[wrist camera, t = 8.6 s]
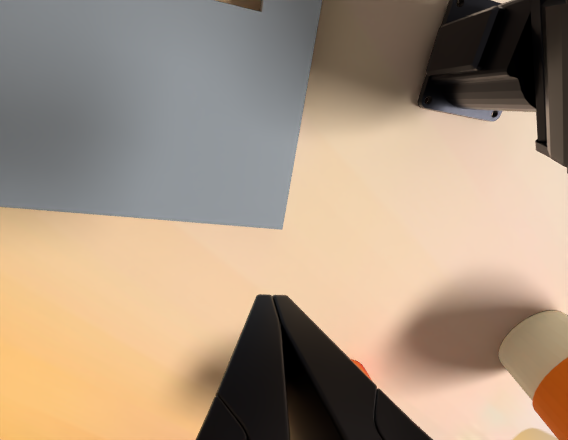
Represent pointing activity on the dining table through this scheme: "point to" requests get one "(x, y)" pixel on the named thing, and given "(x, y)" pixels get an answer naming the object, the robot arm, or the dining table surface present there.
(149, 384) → the dining table surface
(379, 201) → the dining table surface
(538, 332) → the reusable coffee cup
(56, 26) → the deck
